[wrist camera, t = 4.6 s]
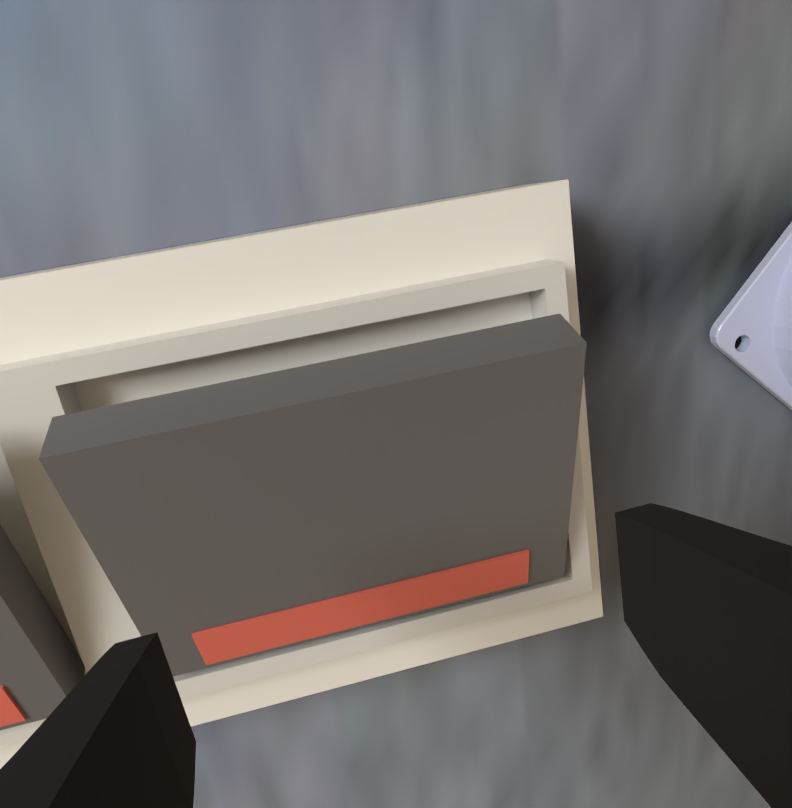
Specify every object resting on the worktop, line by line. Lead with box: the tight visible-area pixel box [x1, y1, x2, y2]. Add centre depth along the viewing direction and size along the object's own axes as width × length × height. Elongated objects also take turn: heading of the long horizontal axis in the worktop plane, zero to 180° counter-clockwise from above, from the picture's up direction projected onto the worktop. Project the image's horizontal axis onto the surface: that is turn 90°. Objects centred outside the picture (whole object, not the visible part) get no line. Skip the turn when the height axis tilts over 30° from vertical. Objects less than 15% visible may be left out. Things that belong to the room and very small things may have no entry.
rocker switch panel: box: [0, 179, 603, 769], centre depth 16 cm, size 25×12×4 cm, turn 100°
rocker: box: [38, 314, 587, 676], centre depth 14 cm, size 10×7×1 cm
